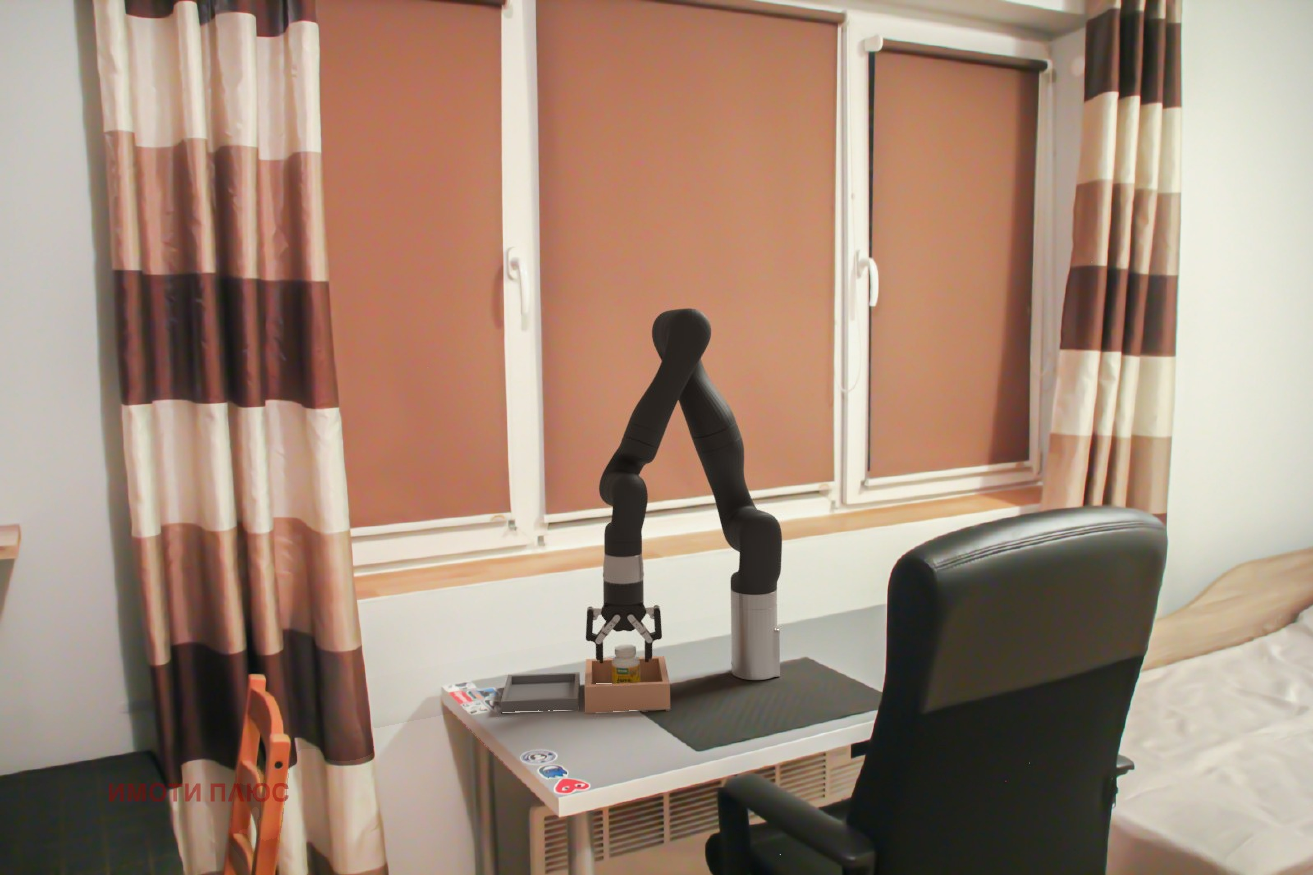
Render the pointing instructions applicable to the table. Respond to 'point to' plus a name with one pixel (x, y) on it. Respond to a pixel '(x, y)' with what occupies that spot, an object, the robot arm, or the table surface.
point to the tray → (541, 692)
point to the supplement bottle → (625, 665)
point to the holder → (626, 687)
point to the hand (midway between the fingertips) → (623, 661)
